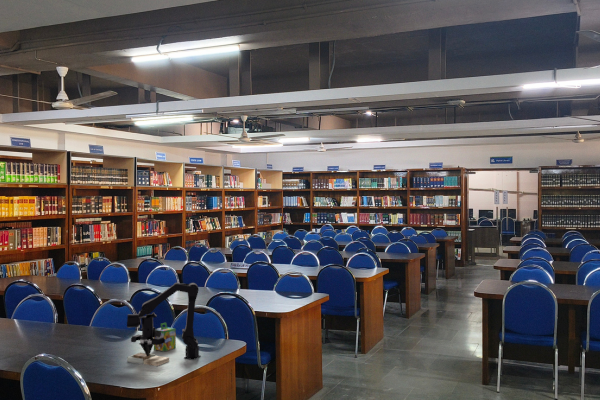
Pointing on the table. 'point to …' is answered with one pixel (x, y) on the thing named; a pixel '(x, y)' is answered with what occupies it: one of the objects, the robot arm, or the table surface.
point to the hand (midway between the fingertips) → (148, 356)
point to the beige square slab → (156, 360)
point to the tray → (137, 360)
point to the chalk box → (166, 338)
